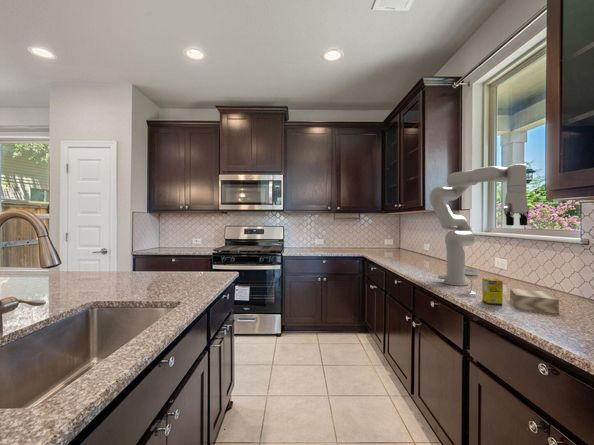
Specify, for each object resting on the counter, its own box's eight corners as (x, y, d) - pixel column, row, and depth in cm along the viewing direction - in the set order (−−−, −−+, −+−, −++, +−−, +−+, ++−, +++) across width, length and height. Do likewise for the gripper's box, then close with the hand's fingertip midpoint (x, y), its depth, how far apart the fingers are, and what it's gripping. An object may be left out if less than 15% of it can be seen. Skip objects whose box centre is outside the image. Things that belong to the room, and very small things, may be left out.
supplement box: (502, 305, 126) (503, 280, 126) (487, 304, 127) (487, 280, 127) (496, 301, 132) (496, 278, 132) (482, 301, 133) (482, 277, 133)
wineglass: (482, 293, 146) (482, 270, 146) (472, 294, 144) (472, 271, 144) (470, 290, 153) (470, 268, 153) (460, 291, 151) (461, 268, 151)
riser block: (515, 309, 122) (515, 295, 122) (510, 301, 135) (510, 288, 135) (558, 314, 116) (558, 299, 116) (548, 305, 128) (548, 291, 128)
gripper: (519, 191, 145) (520, 225, 145) (496, 190, 139) (496, 225, 139) (536, 190, 138) (536, 225, 138) (512, 188, 132) (513, 225, 132)
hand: (516, 225), depth 138 cm, fingers open, 9 cm apart
